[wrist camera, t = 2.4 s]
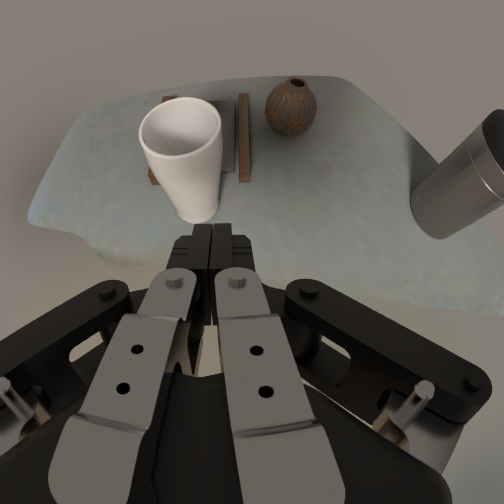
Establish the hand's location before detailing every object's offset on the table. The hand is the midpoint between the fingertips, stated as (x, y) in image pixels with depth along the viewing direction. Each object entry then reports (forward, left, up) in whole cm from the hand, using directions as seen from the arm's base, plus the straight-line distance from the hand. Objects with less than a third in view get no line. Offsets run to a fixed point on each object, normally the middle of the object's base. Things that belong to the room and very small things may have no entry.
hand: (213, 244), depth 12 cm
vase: (-9, -25, -21) cm, 34 cm away
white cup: (+3, -12, -21) cm, 24 cm away
